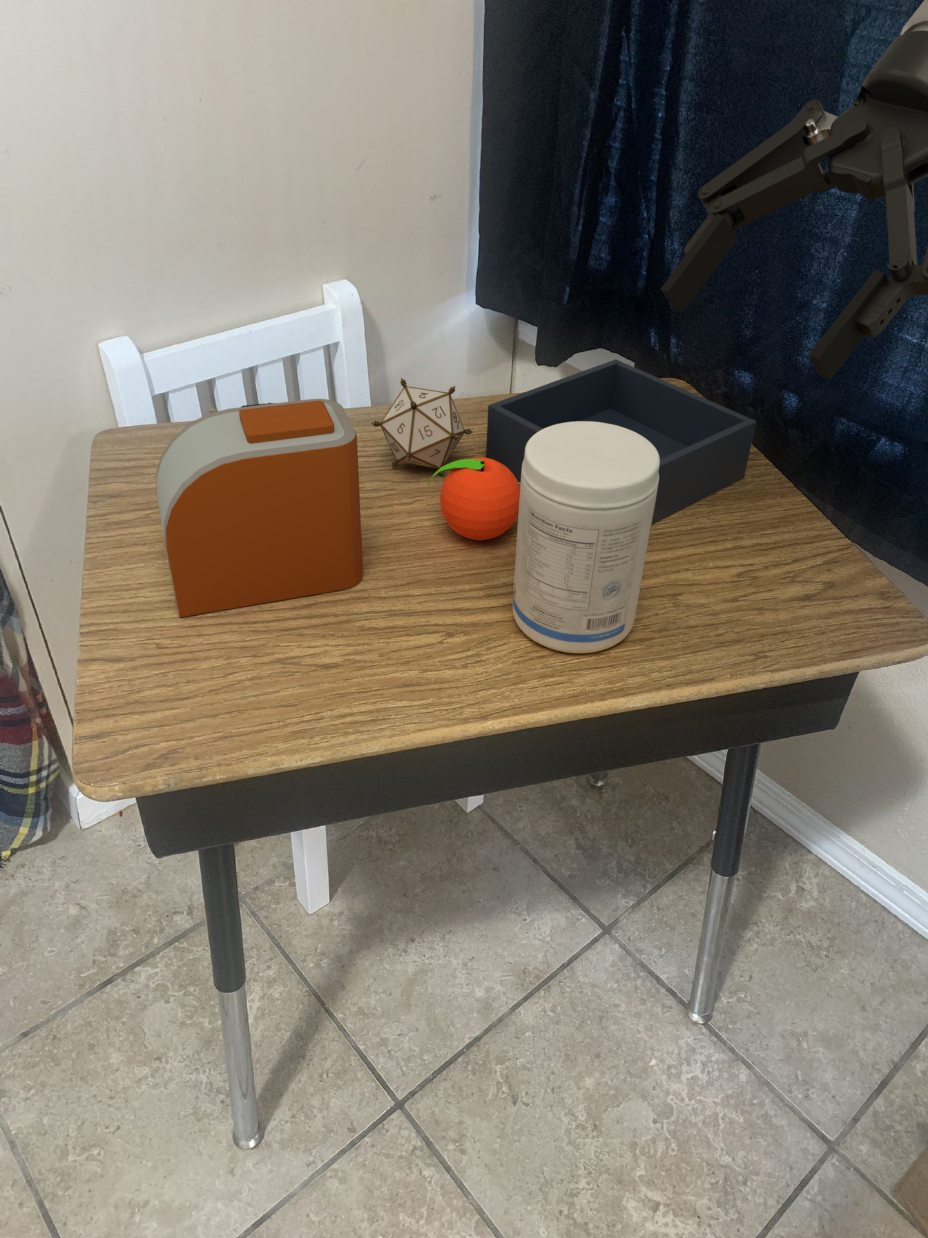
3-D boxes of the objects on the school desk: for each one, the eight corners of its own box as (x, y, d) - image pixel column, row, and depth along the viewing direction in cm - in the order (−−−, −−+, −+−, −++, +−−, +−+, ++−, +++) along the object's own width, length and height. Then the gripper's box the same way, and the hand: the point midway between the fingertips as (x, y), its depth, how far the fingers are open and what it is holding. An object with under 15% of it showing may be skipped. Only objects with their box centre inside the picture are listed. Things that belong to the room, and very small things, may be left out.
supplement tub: (540, 570, 81) (555, 406, 72) (650, 604, 78) (681, 436, 68) (490, 635, 74) (499, 463, 65) (608, 675, 71) (636, 500, 62)
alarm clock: (344, 530, 85) (336, 384, 76) (368, 586, 78) (362, 433, 70) (168, 557, 81) (139, 406, 72) (179, 618, 74) (148, 460, 66)
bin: (744, 477, 94) (757, 420, 90) (620, 540, 85) (629, 480, 81) (609, 412, 104) (615, 358, 100) (485, 461, 95) (487, 405, 91)
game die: (404, 494, 97) (362, 399, 95) (483, 459, 97) (442, 363, 95) (401, 496, 88) (355, 392, 87) (488, 458, 88) (443, 353, 86)
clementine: (421, 551, 83) (421, 477, 78) (432, 508, 88) (433, 437, 84) (516, 559, 82) (521, 485, 78) (521, 515, 87) (526, 444, 83)
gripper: (1134, 147, 60) (907, 430, 62) (811, 77, 76) (640, 305, 78) (1129, 54, 54) (878, 369, 56) (780, 0, 70) (597, 248, 72)
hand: (740, 332), depth 67 cm, fingers open, 13 cm apart
